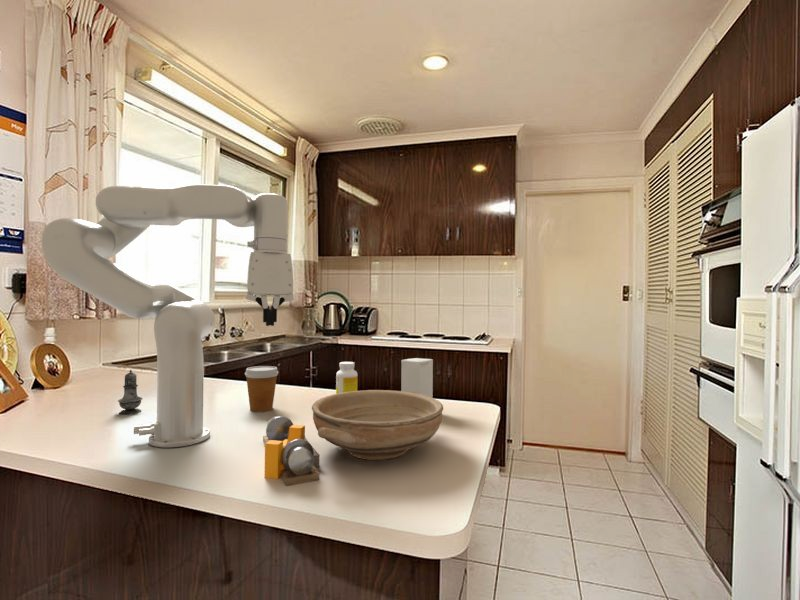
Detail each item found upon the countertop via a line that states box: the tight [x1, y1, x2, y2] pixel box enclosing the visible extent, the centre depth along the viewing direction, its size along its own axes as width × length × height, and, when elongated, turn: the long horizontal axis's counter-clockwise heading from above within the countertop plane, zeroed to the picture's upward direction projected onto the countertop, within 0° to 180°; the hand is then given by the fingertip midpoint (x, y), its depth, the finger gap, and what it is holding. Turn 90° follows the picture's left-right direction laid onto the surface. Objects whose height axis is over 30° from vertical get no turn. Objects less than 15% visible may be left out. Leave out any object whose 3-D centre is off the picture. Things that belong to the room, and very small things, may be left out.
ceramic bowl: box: [311, 389, 444, 461], centre depth 94 cm, size 37×29×10 cm
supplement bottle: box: [335, 361, 359, 394], centre depth 134 cm, size 7×7×13 cm
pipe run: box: [262, 415, 320, 486], centre depth 88 cm, size 8×26×6 cm, turn 26°
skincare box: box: [400, 357, 434, 398], centre depth 124 cm, size 8×7×16 cm
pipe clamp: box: [263, 424, 306, 480], centre depth 84 cm, size 12×4×6 cm, turn 169°
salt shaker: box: [117, 369, 143, 416], centre depth 121 cm, size 6×6×12 cm
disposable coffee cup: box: [244, 365, 280, 413], centre depth 126 cm, size 10×10×12 cm
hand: (269, 325), depth 101 cm, fingers closed
